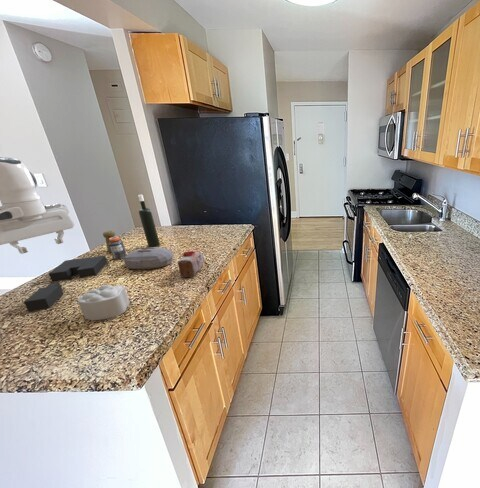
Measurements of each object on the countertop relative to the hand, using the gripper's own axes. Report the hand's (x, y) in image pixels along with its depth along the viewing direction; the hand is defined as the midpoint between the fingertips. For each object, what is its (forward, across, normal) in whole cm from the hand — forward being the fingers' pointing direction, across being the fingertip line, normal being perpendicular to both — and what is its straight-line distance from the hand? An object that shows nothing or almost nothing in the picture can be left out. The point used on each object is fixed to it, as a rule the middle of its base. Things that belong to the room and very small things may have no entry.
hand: (42, 247), depth 91 cm
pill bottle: (+23, -33, -26) cm, 48 cm away
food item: (+23, -38, +22) cm, 50 cm away
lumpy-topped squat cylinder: (+23, -3, +19) cm, 30 cm away
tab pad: (+23, +2, -9) cm, 25 cm away
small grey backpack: (+23, -35, -2) cm, 42 cm away
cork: (+23, -38, -40) cm, 60 cm away
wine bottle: (+23, -52, -25) cm, 62 cm away
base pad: (+23, -16, -26) cm, 38 cm away
